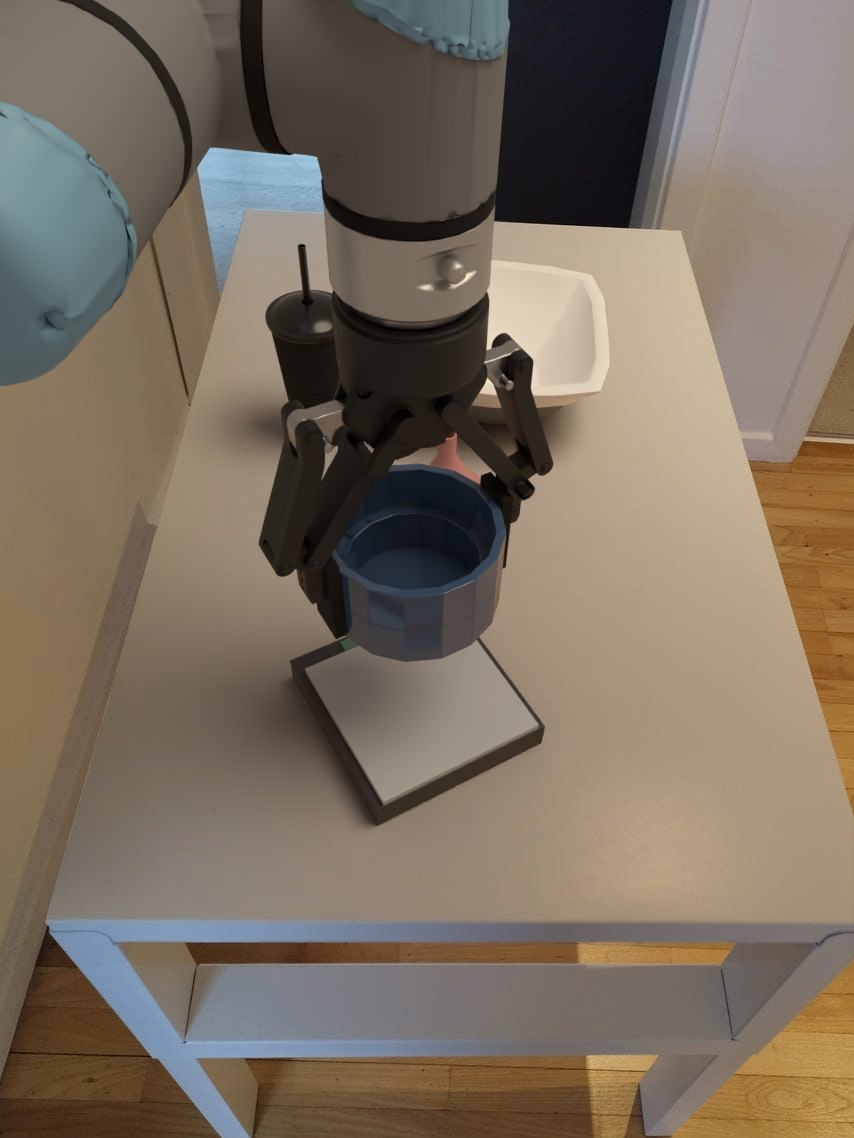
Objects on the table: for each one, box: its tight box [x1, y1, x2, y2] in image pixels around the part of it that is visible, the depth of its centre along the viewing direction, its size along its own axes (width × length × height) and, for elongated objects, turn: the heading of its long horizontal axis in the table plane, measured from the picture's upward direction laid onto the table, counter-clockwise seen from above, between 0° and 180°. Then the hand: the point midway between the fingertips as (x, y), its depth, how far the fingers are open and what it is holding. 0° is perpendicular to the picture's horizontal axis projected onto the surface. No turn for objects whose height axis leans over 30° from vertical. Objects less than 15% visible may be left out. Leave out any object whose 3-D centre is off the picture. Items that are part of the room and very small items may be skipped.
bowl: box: [467, 259, 611, 425], centre depth 94 cm, size 22×23×8 cm
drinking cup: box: [264, 243, 345, 448], centre depth 84 cm, size 8×8×20 cm
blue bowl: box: [332, 462, 506, 662], centre depth 58 cm, size 11×11×7 cm
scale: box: [289, 636, 546, 826], centre depth 71 cm, size 15×14×3 cm
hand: (414, 588), depth 60 cm, fingers closed on blue bowl, 11 cm apart
